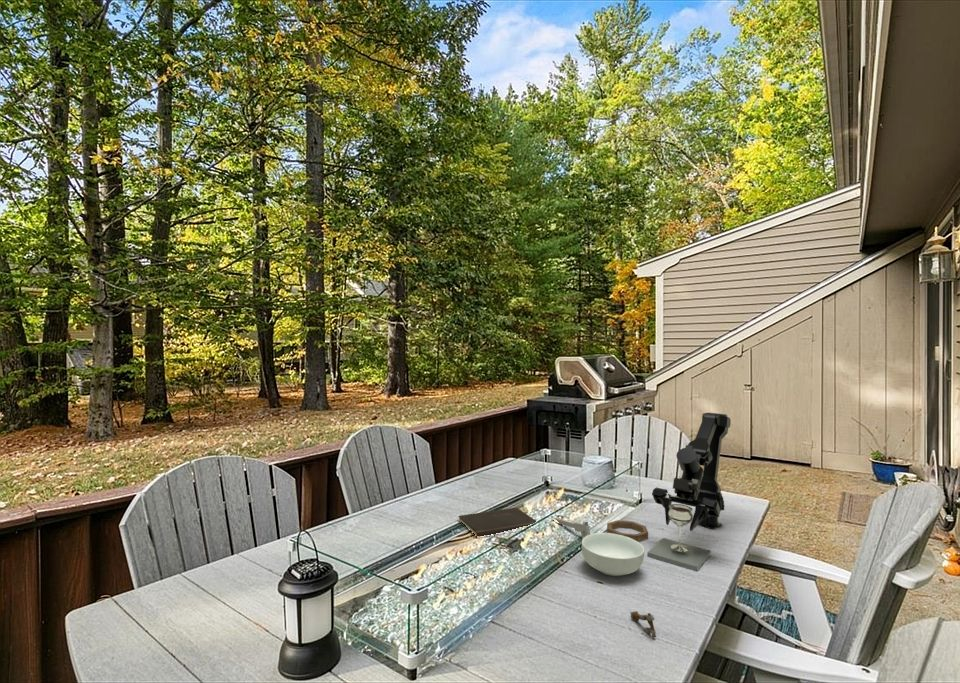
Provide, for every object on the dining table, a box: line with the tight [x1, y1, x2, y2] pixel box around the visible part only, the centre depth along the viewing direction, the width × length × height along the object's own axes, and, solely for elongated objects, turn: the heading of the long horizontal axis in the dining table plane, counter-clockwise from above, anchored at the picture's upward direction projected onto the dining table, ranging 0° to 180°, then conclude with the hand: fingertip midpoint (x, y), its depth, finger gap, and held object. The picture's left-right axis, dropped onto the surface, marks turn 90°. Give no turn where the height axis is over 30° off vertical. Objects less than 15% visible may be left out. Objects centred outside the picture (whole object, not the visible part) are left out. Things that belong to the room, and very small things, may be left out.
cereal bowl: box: [581, 532, 645, 577], centre depth 138 cm, size 17×17×7 cm
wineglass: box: [668, 503, 694, 552], centre depth 147 cm, size 7×7×12 cm
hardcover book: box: [458, 507, 537, 537], centre depth 169 cm, size 16×23×2 cm
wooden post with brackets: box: [629, 610, 657, 638], centre depth 110 cm, size 2×8×4 cm, turn 15°
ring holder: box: [606, 519, 649, 543], centre depth 163 cm, size 12×12×2 cm
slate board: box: [646, 537, 712, 571], centre depth 147 cm, size 14×14×1 cm
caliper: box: [553, 517, 591, 539], centre depth 165 cm, size 20×1×6 cm, turn 24°
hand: (678, 527), depth 146 cm, fingers closed on wineglass, 6 cm apart
